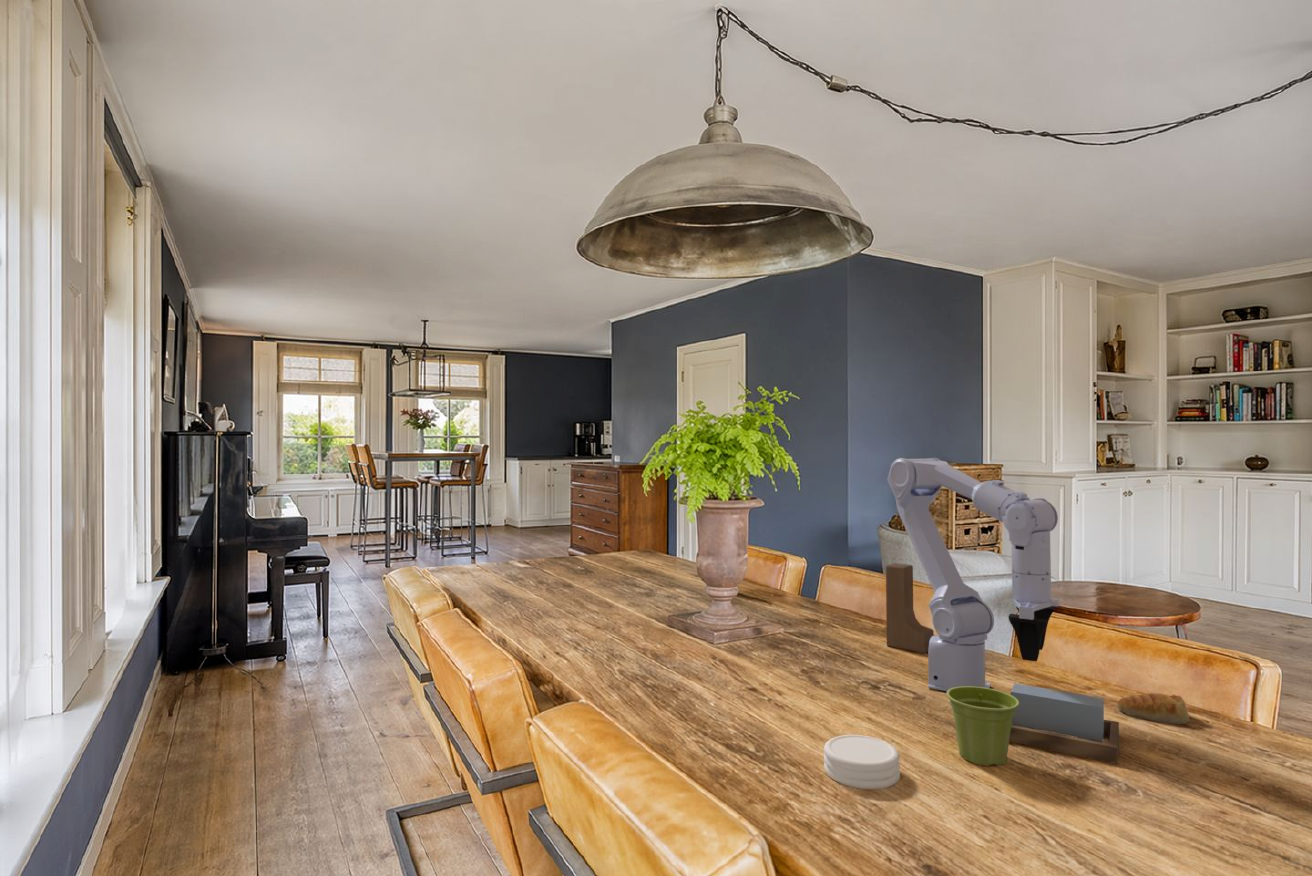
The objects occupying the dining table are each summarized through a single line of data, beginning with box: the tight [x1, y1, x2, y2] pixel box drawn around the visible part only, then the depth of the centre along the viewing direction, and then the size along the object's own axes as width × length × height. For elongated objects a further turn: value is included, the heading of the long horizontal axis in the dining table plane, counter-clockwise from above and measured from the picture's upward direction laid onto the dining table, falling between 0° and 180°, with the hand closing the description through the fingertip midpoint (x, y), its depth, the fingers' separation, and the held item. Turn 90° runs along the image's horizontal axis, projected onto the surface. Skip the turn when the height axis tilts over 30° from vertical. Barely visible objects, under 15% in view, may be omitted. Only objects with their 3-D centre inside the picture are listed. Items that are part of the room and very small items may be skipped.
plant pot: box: [946, 686, 1019, 767], centre depth 101 cm, size 9×9×9 cm
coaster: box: [823, 734, 901, 790], centre depth 97 cm, size 10×10×4 cm
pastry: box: [1117, 692, 1190, 725], centre depth 116 cm, size 9×7×4 cm
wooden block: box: [885, 562, 935, 654], centre depth 155 cm, size 9×4×18 cm, turn 45°
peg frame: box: [1009, 719, 1120, 765], centre depth 107 cm, size 16×11×2 cm
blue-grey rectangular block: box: [1010, 683, 1105, 743], centre depth 107 cm, size 12×4×5 cm, turn 56°
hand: (1032, 654), depth 117 cm, fingers open, 7 cm apart
